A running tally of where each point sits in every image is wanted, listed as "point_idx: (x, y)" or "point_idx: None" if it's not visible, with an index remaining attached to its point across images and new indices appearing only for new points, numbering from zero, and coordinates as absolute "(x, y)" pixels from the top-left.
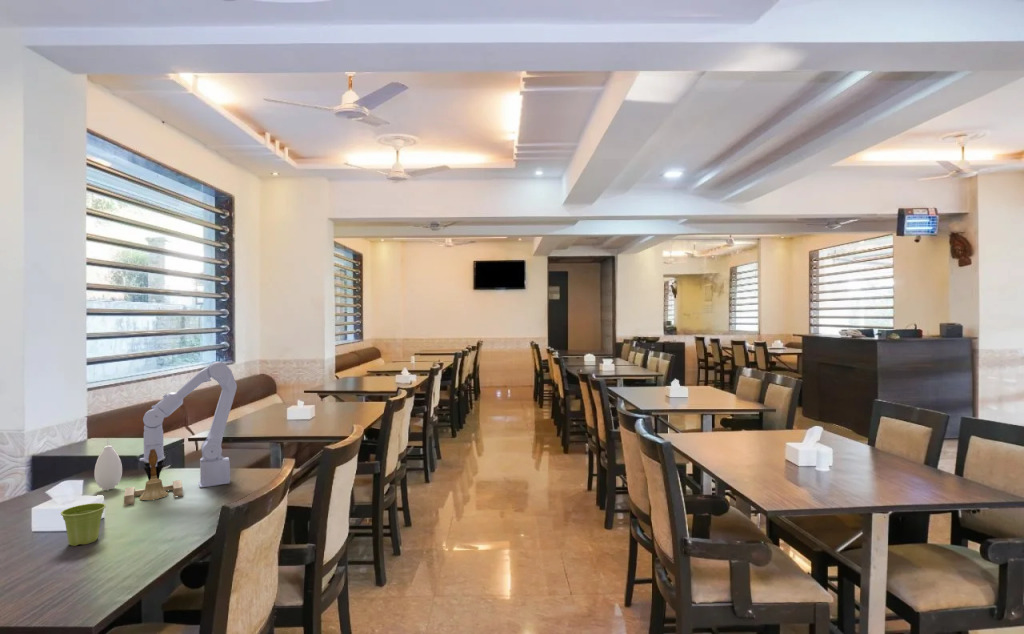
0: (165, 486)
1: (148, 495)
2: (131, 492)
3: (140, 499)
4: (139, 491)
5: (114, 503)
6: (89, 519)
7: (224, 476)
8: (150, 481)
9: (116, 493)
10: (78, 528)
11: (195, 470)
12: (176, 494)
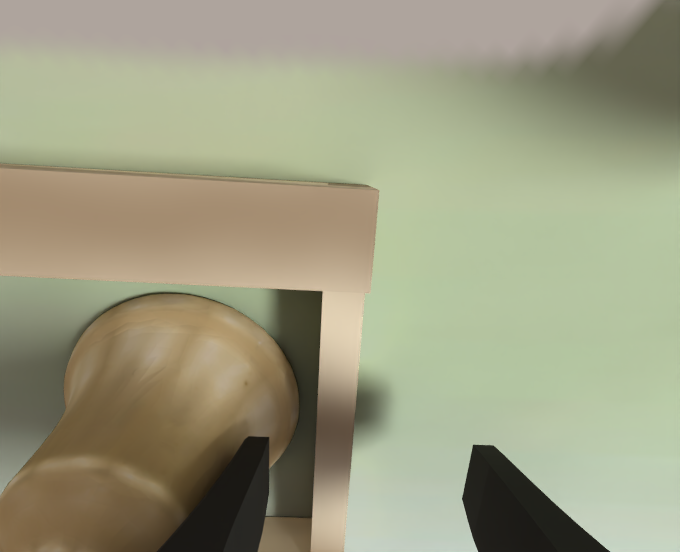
0: (312, 518)
1: (72, 383)
2: (53, 251)
3: (121, 305)
4: (321, 317)
5: (157, 71)
6: None
7: None
8: (12, 524)
9: (625, 98)
10: None
11: None
12: None
